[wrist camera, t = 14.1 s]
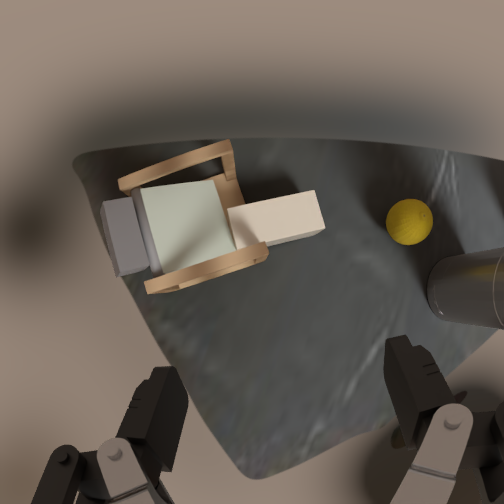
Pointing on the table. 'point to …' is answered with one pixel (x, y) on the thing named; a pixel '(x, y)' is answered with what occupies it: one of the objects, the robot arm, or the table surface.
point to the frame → (228, 199)
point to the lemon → (409, 221)
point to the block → (275, 220)
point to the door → (166, 228)
